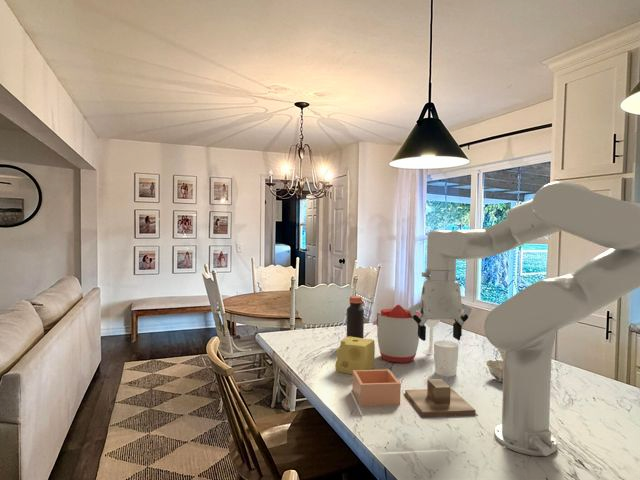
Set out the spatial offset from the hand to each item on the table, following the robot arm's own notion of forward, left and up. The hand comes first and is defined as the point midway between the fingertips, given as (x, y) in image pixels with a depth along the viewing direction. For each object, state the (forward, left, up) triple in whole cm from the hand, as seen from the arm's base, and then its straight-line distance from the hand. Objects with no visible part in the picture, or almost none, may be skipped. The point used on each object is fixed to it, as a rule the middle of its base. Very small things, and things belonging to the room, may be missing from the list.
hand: (439, 339), depth 110 cm
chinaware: (+20, -36, -18) cm, 45 cm away
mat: (0, 0, -18) cm, 18 cm away
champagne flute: (+46, -16, -18) cm, 52 cm away
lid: (0, 0, -18) cm, 18 cm away
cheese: (+29, +17, -18) cm, 38 cm away
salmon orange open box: (+6, +16, -18) cm, 25 cm away
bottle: (+56, +12, -18) cm, 60 cm away
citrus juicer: (+40, 0, -18) cm, 44 cm away
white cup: (+23, -12, -18) cm, 32 cm away
